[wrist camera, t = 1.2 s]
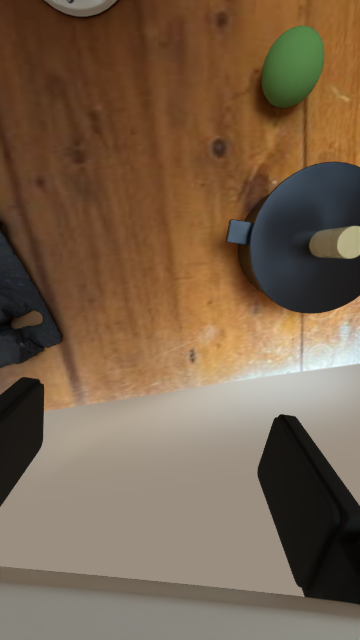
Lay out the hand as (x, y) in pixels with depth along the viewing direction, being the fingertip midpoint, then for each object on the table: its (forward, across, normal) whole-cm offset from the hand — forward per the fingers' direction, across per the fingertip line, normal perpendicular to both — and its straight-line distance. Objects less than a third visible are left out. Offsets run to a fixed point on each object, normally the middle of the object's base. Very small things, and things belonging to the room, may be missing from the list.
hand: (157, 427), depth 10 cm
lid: (+20, -15, -10) cm, 27 cm away
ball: (+24, -8, -27) cm, 37 cm away
